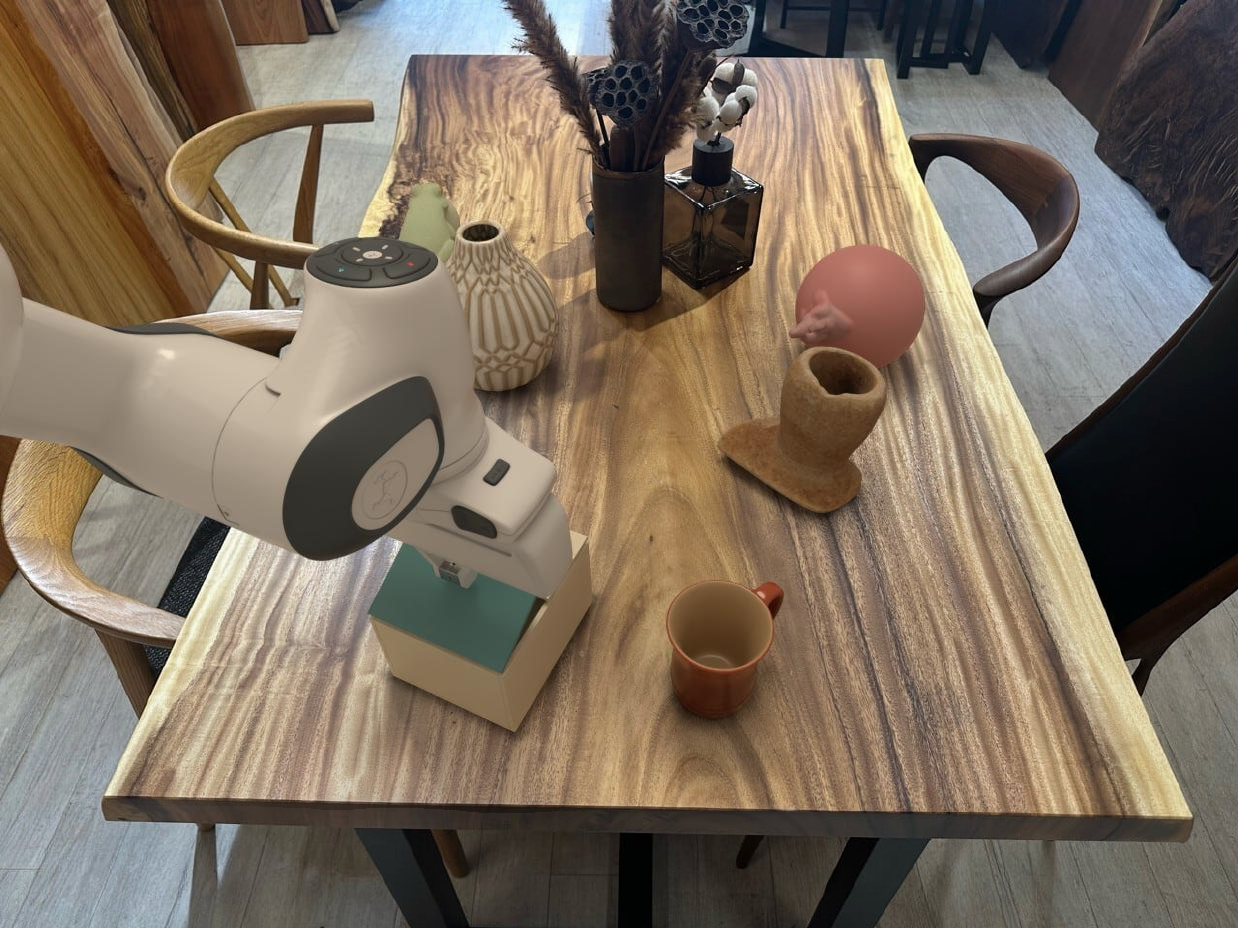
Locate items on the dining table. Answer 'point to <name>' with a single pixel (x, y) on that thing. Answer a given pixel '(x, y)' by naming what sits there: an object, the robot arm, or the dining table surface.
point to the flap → (453, 610)
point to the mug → (719, 643)
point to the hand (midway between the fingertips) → (457, 576)
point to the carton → (526, 667)
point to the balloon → (861, 304)
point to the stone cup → (813, 429)
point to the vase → (502, 306)
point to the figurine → (431, 220)
